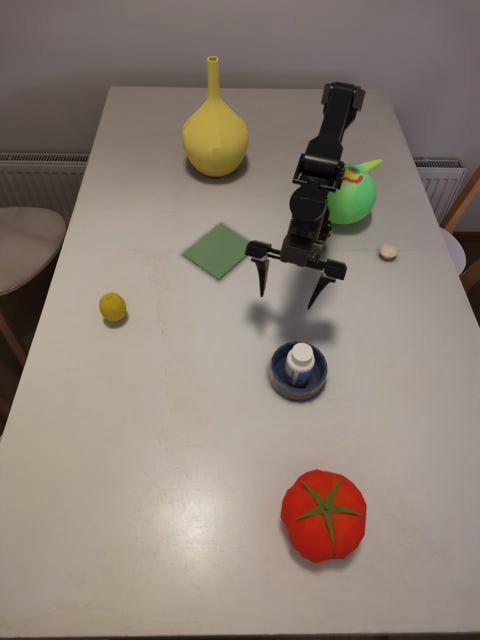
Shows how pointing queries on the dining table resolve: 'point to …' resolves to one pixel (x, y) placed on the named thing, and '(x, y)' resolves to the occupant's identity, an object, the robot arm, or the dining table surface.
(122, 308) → the lemon
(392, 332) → the dining table surface
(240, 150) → the vase
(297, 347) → the pill bottle
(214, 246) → the towel
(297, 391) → the shallow round bowl
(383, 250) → the macaroon
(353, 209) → the toy bird
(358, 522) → the tomato
